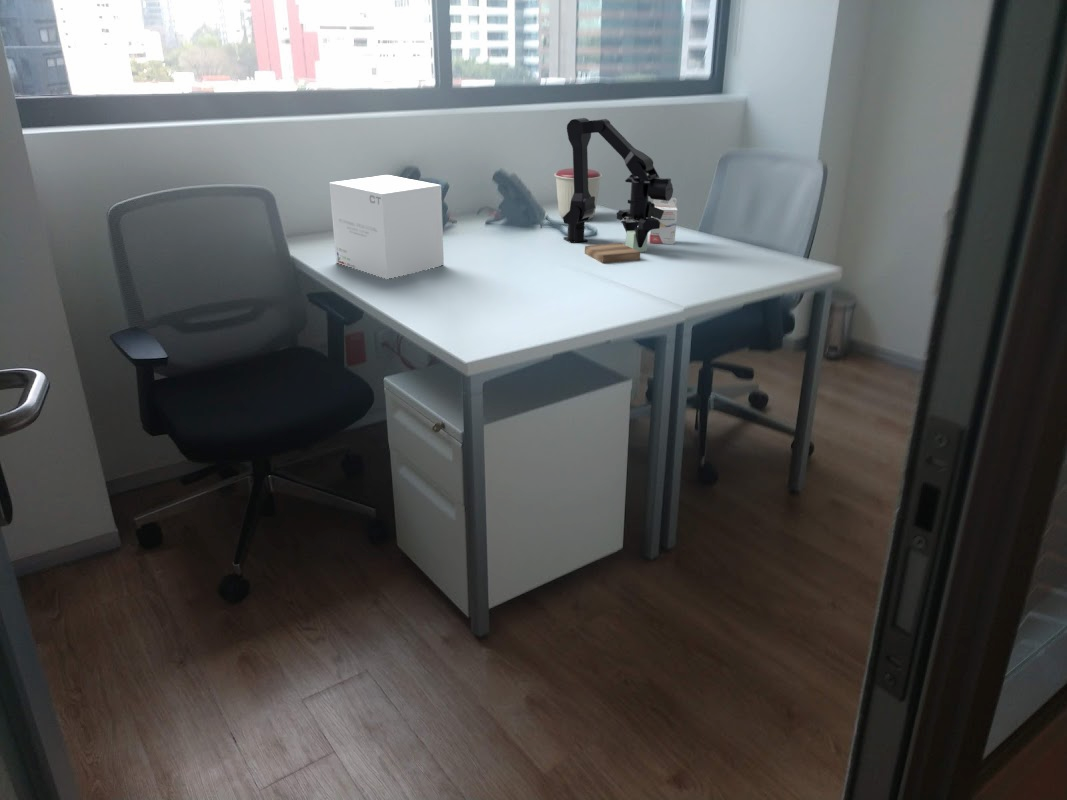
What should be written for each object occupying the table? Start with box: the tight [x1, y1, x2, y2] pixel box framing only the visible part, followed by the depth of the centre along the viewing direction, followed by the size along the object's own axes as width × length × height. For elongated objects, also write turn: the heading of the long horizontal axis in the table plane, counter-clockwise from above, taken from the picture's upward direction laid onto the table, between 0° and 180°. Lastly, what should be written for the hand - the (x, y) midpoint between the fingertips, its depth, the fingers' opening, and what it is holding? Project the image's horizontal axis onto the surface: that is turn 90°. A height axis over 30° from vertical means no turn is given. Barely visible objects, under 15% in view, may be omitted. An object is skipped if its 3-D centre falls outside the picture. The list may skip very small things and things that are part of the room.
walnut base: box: [584, 242, 641, 264], centre depth 258 cm, size 13×13×3 cm
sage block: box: [625, 230, 649, 253], centre depth 265 cm, size 5×5×6 cm
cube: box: [328, 174, 445, 280], centre depth 241 cm, size 25×21×24 cm
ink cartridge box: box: [648, 197, 678, 245], centre depth 274 cm, size 9×5×15 cm, turn 84°
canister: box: [553, 167, 603, 220], centre depth 307 cm, size 18×18×21 cm
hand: (636, 245), depth 266 cm, fingers closed on sage block, 5 cm apart
